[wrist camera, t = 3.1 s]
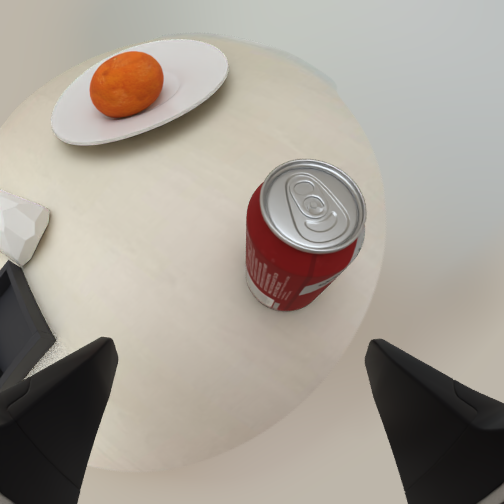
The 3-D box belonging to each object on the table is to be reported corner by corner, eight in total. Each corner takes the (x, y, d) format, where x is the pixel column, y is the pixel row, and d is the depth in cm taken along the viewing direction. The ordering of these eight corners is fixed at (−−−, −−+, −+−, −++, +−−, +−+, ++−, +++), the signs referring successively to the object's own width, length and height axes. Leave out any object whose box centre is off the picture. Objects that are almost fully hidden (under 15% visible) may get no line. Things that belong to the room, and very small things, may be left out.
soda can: (262, 324, 23) (280, 287, 12) (234, 254, 25) (228, 167, 14) (333, 295, 24) (399, 237, 13) (302, 230, 26) (337, 141, 15)
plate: (127, 53, 41) (119, 21, 33) (256, 62, 38) (258, 19, 30) (31, 148, 31) (7, 113, 23) (167, 182, 28) (146, 123, 20)
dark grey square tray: (56, 340, 21) (40, 337, 19) (11, 394, 18) (-4, 393, 16) (21, 267, 24) (8, 259, 21) (-19, 321, 21) (-32, 317, 18)
